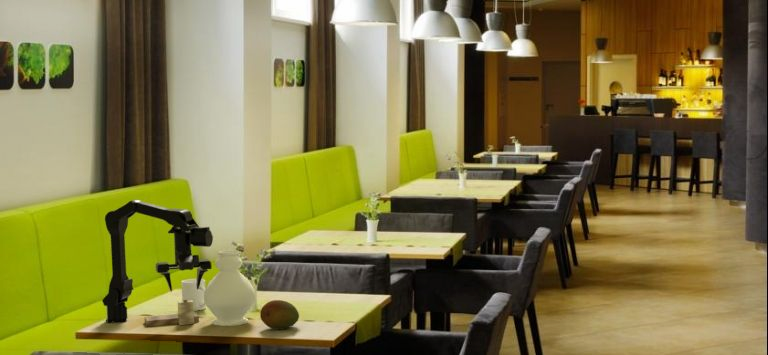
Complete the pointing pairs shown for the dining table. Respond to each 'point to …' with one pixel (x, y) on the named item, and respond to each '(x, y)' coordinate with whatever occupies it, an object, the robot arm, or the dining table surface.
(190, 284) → the mug
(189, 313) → the beige box with knob
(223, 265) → the decorative vase
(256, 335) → the dining table surface
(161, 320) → the board
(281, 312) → the fruit
